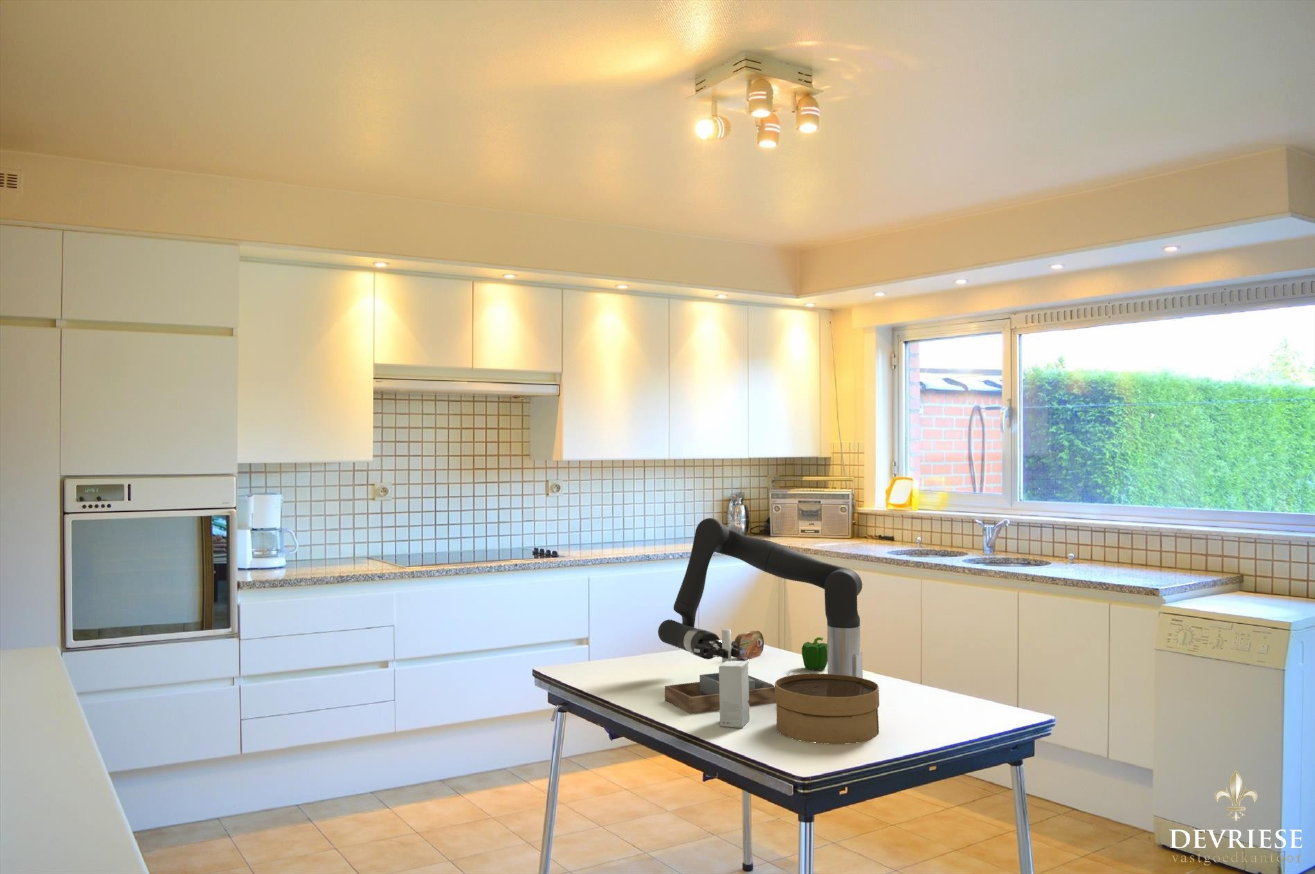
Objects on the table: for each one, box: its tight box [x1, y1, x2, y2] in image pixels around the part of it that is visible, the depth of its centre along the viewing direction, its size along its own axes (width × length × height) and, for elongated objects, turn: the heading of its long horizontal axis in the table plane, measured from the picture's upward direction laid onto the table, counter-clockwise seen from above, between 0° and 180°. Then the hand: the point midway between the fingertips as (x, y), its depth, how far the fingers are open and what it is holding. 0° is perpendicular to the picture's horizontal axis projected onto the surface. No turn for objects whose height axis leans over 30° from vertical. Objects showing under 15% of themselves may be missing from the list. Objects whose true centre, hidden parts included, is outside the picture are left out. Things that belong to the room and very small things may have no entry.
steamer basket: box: [774, 673, 880, 745], centre depth 236 cm, size 25×25×11 cm
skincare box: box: [718, 660, 750, 729], centre depth 242 cm, size 8×6×15 cm
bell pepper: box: [801, 636, 828, 671], centre depth 303 cm, size 8×8×10 cm
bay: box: [664, 674, 776, 715], centre depth 263 cm, size 26×15×5 cm, turn 116°
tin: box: [734, 630, 765, 661], centre depth 321 cm, size 15×3×8 cm, turn 143°
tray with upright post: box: [699, 628, 755, 695], centre depth 264 cm, size 10×12×18 cm
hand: (732, 654), depth 262 cm, fingers closed on tray with upright post, 2 cm apart
